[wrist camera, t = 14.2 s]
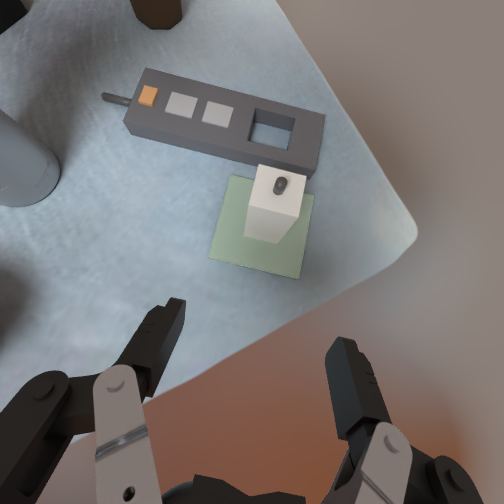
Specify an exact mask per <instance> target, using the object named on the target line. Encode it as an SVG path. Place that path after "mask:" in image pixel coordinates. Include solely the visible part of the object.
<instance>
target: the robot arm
mask: <svg viewBox="0 0 504 504" xmlns="http://www.w3.org/2000/svg"><path fill="white" fill-rule="evenodd" d="M59 175H60V166H59V162H58V160H57V157H56V156H55V155H54V154H53V152H52V151H51V150H49V149H48V148H47V147H46V146H45V145H43V144H42V143H41V142H40V141H38V140H37V139H36V138H35V137H34V136H32V135H31V134H30V133H29V132H28V131H26V130H25V129H24V128H23V127H22V126H21V125H19V124H18V123H17V122H16V121H14V120H13V119H12V118H11V117H10V116H8V115H7V114H6V113H5V112H4V111H2V110H1V109H0V204H1V205H4V206H8V207H22V206H28V205H31V204H34V203H36V202H38V201H40V200H42V199H43V198H44V197H46V196H47V195H48V194H49V193H50V192H51V191H52V190H53V189H54V187H55V185H56V184H57V182H58V179H59ZM185 309H186V300H182V299H177V298H173V297H171V298H170V299H169V301H168V302H167V304H166V306H165V307H163V306H159V305H157V306H156V307H154V308H153V309H152V310H150V311H149V312H148V313H147V315H146V316H145V318H144V320H143V321H142V323H141V324H140V326H139V327H138V329H137V331H136V332H135V334H134V335H133V337H132V338H131V340H130V341H129V343H128V344H127V346H126V348H125V349H124V351H123V352H122V354H121V355H120V357H119V359H118V360H117V361H116V362H115V363H114V365H112V366H111V367H110V368H108V369H106V370H105V371H103V372H101V373H99V374H95V375H89V376H81V377H72V378H68V376H67V375H66V374H65V373H64V372H62V371H48V372H44V373H41V374H39V375H37V376H35V377H34V378H32V379H31V380H29V381H28V382H27V383H26V384H25V385H24V386H23V387H22V388H21V389H20V390H19V392H18V393H17V394H16V395H15V396H14V397H13V399H12V400H11V401H10V402H9V403H8V405H7V406H6V407H5V408H4V409H3V410H2V412H1V413H0V504H35V503H36V501H37V500H38V498H39V496H40V494H41V493H42V491H43V489H44V487H45V486H46V483H47V482H48V480H49V479H50V477H51V475H52V473H53V472H54V470H55V468H56V466H57V465H58V463H59V461H60V459H61V458H62V456H63V454H64V452H65V451H66V449H67V447H68V445H69V444H70V442H71V440H72V438H73V436H74V435H78V434H84V433H89V432H95V431H96V447H97V448H96V455H95V473H96V491H97V504H306V500H305V497H303V496H297V495H293V494H288V493H283V492H273V493H268V494H262V495H257V496H248V495H246V494H244V493H243V492H241V491H240V490H238V489H236V488H235V487H233V486H231V485H230V484H228V483H226V482H225V481H223V480H220V479H216V478H211V477H206V476H201V475H196V474H195V476H194V479H193V481H190V482H185V483H182V484H180V485H177V486H175V487H173V488H172V489H170V490H169V491H167V492H166V493H164V494H163V495H162V496H161V494H160V489H159V485H158V479H157V474H156V470H155V464H154V459H153V454H152V450H151V445H150V440H149V435H148V430H147V428H146V424H145V419H144V414H143V409H142V403H143V401H144V399H145V397H151V398H152V397H153V395H154V393H155V390H156V388H157V386H158V384H159V381H160V379H161V377H162V374H163V372H164V370H165V368H166V365H167V363H168V361H169V358H170V356H171V354H172V352H173V349H174V347H175V345H176V342H177V340H178V338H179V336H180V333H181V331H182V328H183V325H184V320H185ZM325 367H326V373H327V378H328V384H329V390H330V395H331V400H332V406H333V412H334V417H335V423H336V428H337V434H338V439H341V440H345V441H348V445H349V449H348V450H347V451H346V454H345V456H344V458H343V461H342V463H341V465H340V467H339V470H338V472H337V474H336V477H335V479H334V481H333V483H332V486H331V488H330V490H329V492H328V494H327V495H326V496H325V498H324V499H323V500H322V502H321V504H484V503H483V502H482V499H481V497H480V495H479V493H478V491H477V489H476V487H475V485H474V483H473V481H472V480H471V478H470V476H469V475H468V474H467V472H466V471H465V470H464V469H463V468H462V467H461V466H460V465H459V464H458V463H457V462H456V461H454V460H453V459H451V458H449V457H447V456H443V455H442V456H438V457H436V458H435V459H433V458H431V457H430V456H428V455H426V454H424V453H423V452H421V451H419V450H418V449H416V448H414V447H413V446H411V445H410V444H409V443H408V441H407V439H406V438H405V436H404V435H403V434H402V432H401V431H400V430H399V429H398V428H396V427H395V426H393V424H392V422H391V420H390V417H389V414H388V411H387V408H386V406H385V403H384V400H383V397H382V394H381V392H380V389H379V387H378V385H377V381H376V378H375V377H374V372H373V370H372V367H371V364H370V362H369V361H368V360H367V358H366V356H365V355H364V354H363V353H361V352H359V350H358V348H357V344H356V342H355V341H354V340H352V339H348V338H344V337H338V338H336V340H335V341H334V343H333V344H332V346H331V347H330V349H329V350H328V352H327V354H326V357H325Z"/></svg>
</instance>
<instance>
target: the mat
mask: <svg viewBox="0 0 504 504" xmlns="http://www.w3.org/2000/svg"><path fill="white" fill-rule="evenodd" d="M254 181H255V180H251V179H247V178H243V177H239V176H235V175H230V179H229V183H228V186H227V190H226V193H225V197H224V201H223V204H222V208H221V211H220V215H219V219H218V222H217V226H216V230H215V233H214V237H213V240H212V244H211V248H210V251H209V255H208V258H210V259H214V260H218V261H223V262H227V263H231V264H235V265H239V266H243V267H248V268H252V269H256V270H260V271H264V272H268V273H273V274H277V275H281V276H285V277H289V278H294V279H299V277H300V271H301V266H302V260H303V255H304V249H305V244H306V239H307V233H308V228H309V222H310V217H311V211H312V206H313V200H314V195H310V194H306V193H303V197H302V202H301V207H300V212H299V217H298V219H297V220H296V221H295V223H294V224H293V225H292V226H291V228H290V229H289V230H288V231H287V233H286V234H285V235H284V236H283V238H282V239H281V240H280V241H279V243H278V244H274V243H270V242H266V241H262V240H258V239H254V238H250V237H246V236H243V235H244V229H245V223H246V217H247V211H248V205H249V201H250V197H251V193H252V189H253V185H254Z"/></svg>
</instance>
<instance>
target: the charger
mask: <svg viewBox="0 0 504 504" xmlns="http://www.w3.org/2000/svg"><path fill="white" fill-rule="evenodd" d="M306 177H307V176H304V175H300V174H296V173H292V172H288V171H284V170H280V169H276V168H273V167H269V166H265V165H261V164H259V165H258V169H257V173H256V177H255V181H254V185H253V189H252V193H251V197H250V201H249V205H248V211H247V217H246V223H245V229H244V235H243V236H246V237H250V238H254V239H258V240H262V241H266V242H270V243H274V244H278V243H279V241H280V240H281V239H282V238H283V236H284V235H285V234H286V233H287V231H288V230H289V229H290V228H291V226H292V225H293V224H294V223H295V221H296V220H297V219H298V217H299V212H300V207H301V202H302V197H303V192H304V187H305V182H306Z"/></svg>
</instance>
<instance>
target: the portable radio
mask: <svg viewBox="0 0 504 504" xmlns="http://www.w3.org/2000/svg"><path fill="white" fill-rule="evenodd" d="M26 12H27V10H26V8H25V7H24V5H23V4H22V2H21V1H20V0H0V33H2V32H3V31H4V30H5V29H7V28H8V27H9V26H10V25H12V24H13V23H14V22H16V21H17V20H18V19H19V18H21V17H22V16H23V15H25V14H26Z"/></svg>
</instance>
